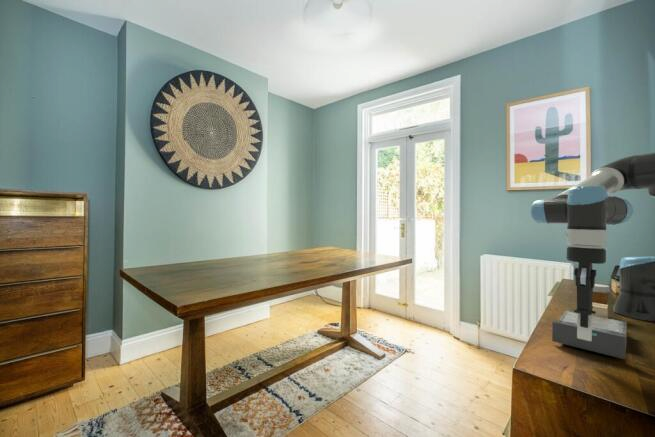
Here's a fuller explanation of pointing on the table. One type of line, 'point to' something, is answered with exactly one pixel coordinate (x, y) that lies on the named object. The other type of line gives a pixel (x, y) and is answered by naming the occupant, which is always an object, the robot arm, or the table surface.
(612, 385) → the table surface
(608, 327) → the box
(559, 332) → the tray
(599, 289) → the disposable coffee cup
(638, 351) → the table surface
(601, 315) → the oak block
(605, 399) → the table surface
